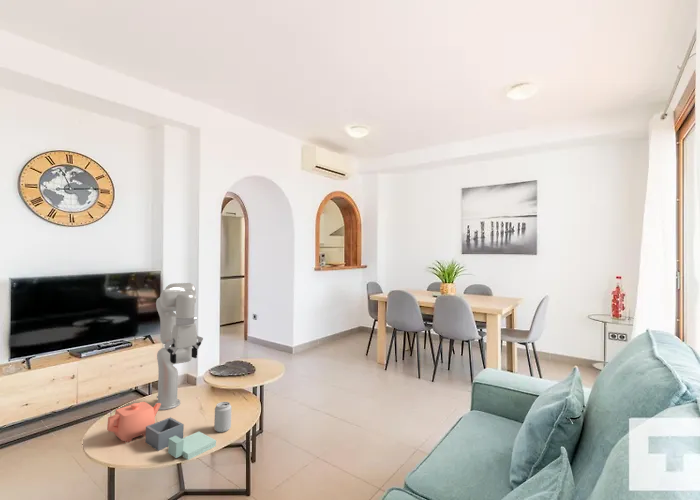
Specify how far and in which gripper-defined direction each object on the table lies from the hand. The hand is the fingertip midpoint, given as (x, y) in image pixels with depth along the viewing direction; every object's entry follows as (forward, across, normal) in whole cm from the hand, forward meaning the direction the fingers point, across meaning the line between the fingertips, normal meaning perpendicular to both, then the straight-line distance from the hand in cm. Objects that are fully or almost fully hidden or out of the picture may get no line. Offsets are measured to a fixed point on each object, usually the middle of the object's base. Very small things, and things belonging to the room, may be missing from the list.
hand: (184, 360), depth 157 cm
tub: (+36, +4, -7) cm, 37 cm away
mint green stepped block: (+36, +1, +8) cm, 37 cm away
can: (+36, -18, +4) cm, 41 cm away
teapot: (+37, +9, -23) cm, 44 cm away
